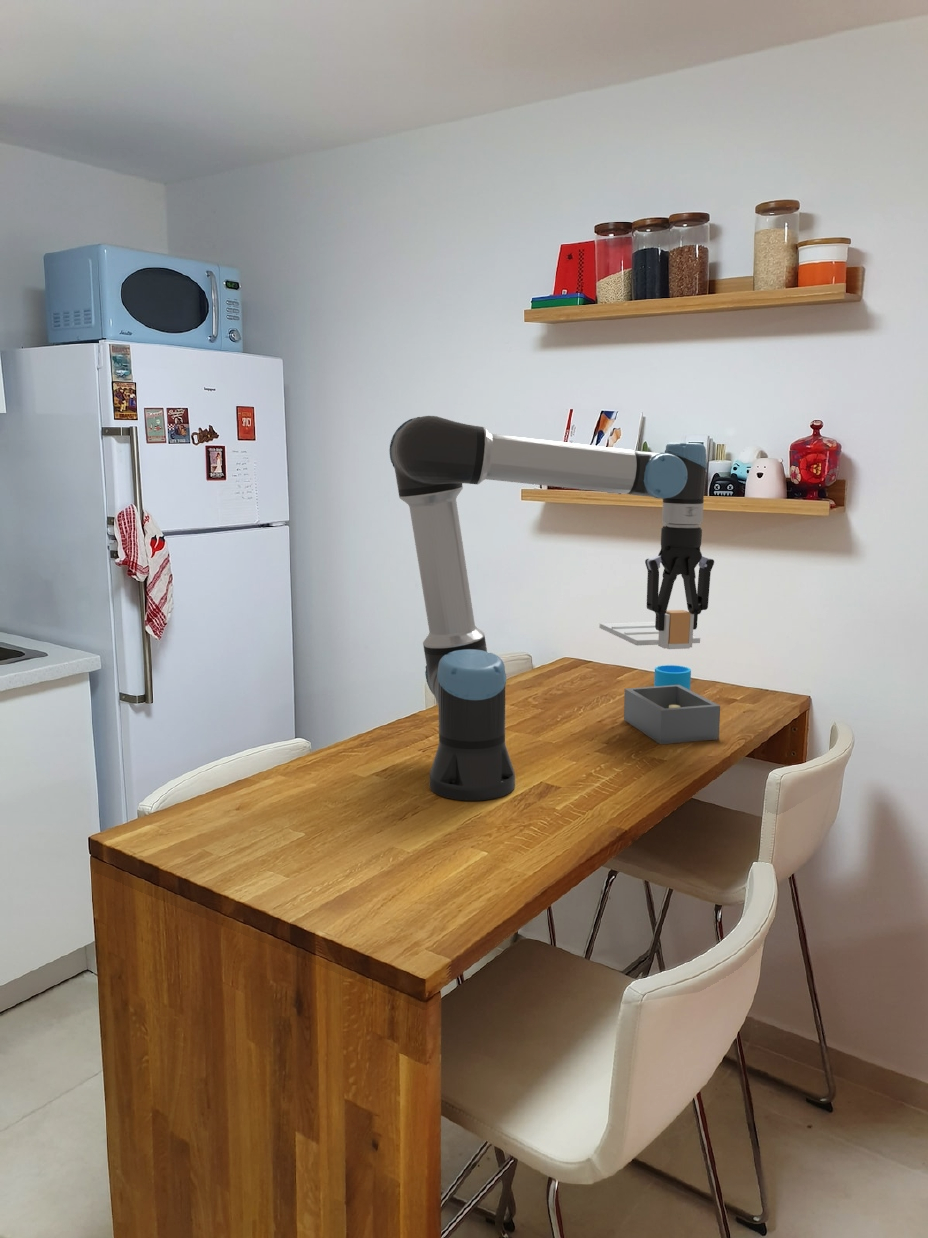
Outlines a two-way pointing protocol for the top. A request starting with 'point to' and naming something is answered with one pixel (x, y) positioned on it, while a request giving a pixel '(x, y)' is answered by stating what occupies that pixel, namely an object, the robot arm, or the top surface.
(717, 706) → the tub
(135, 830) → the top surface
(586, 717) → the top surface
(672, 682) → the mug
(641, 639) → the lid
